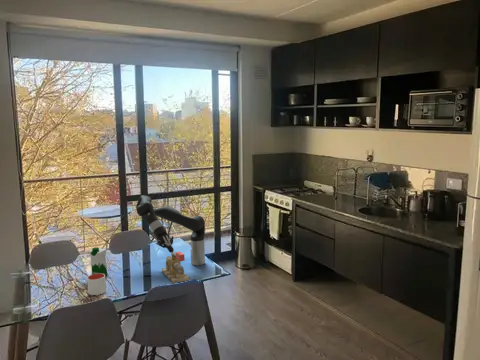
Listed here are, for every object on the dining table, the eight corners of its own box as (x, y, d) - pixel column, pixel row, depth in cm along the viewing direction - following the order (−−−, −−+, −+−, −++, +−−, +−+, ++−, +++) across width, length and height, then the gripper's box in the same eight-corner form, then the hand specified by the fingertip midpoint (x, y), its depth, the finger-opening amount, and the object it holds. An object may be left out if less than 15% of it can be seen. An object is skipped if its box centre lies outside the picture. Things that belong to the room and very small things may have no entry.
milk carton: (89, 279, 264) (87, 249, 261) (98, 274, 272) (96, 244, 269) (101, 280, 261) (98, 250, 258) (110, 275, 269) (107, 245, 266)
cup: (91, 289, 247) (89, 273, 245) (108, 288, 248) (106, 272, 246) (86, 296, 237) (84, 280, 235) (104, 295, 238) (102, 279, 236)
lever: (180, 261, 251) (179, 255, 251) (170, 255, 264) (170, 249, 263) (185, 260, 253) (184, 254, 252) (175, 254, 265) (174, 248, 265)
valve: (161, 271, 273) (160, 251, 271) (176, 268, 278) (175, 249, 276) (173, 283, 252) (172, 262, 250) (189, 280, 257) (188, 259, 255)
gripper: (163, 230, 264) (177, 252, 258) (147, 235, 254) (161, 258, 248) (168, 223, 260) (183, 245, 254) (151, 228, 250) (166, 251, 244)
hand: (172, 251), depth 251 cm, fingers closed
